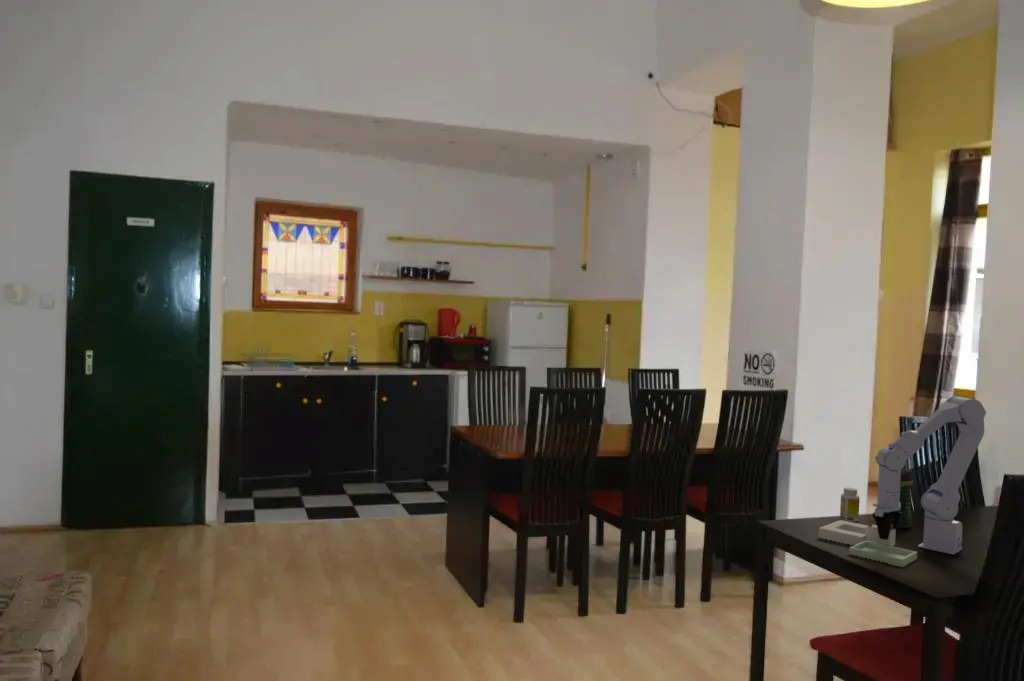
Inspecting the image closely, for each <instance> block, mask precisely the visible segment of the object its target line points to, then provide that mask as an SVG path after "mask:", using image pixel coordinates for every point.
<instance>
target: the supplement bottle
mask: <svg viewBox="0 0 1024 681" xmlns="http://www.w3.org/2000/svg"><path fill="white" fill-rule="evenodd" d="M839 513H840V514H839V518H840V517H841V518H840V520H843V521H848V522H853V523H856V522H858V521H859V518H860V517H859V516H860V515H859V514H860V496H859V495H858V488H853V487H844V488H843V493H842V494H840V510H839Z"/></svg>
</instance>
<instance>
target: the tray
mask: <svg viewBox="0 0 1024 681" xmlns="http://www.w3.org/2000/svg"><path fill="white" fill-rule="evenodd" d="M848 555H849V556H852V555H854V556H853V557H856V556H858V558H861V557H862V559H865V558H867V559H866V560H869V559H871V560H870V561H874V560H876V561H875V562H878V561H880V562H879V563H882V562H885V563H884V564H886V563H888V565H890V566H896V567H900V568H905V567H906V566H907V565H910V564H911V563H912V562H914V561H916V559H917V560H918V551H914V550H910V549H906V548H903V547H902V548H901V547H897V546H888V545H883V544H879V543H874V542H870V541H863V542H861V543H858V544H856V545H854V546H852V545H851V546H850V547H849V548H848Z"/></svg>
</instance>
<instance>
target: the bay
mask: <svg viewBox="0 0 1024 681" xmlns="http://www.w3.org/2000/svg"><path fill="white" fill-rule="evenodd" d="M865 526H868V525H867V524H862V523H856V522H848V521H844V520H842V519H839V520H836V521H833V522H832V523H831V522H830V523H828V524H825V525H823V526H820V527H818V539H821V538H822V540H825V539H827V540H826V541H830V540H832V541H831V542H834V541H836V542H835V543H839V542H840V543H839V544H843V543H844V544H845V545H847V544H849V546H852V545H856V544H858V543H861V542H863V541H867V535H866V534H865Z"/></svg>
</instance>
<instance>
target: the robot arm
mask: <svg viewBox="0 0 1024 681" xmlns="http://www.w3.org/2000/svg"><path fill="white" fill-rule="evenodd" d="M986 414H987V411H986V410H985V408H984V406H983V404H982V402H980V401H979V400H977V399H974V398H967V397H963V396H959V395H953V396H950V397H948V398H947V399H946V401H944V402H942V403H941V404H939V407H938V408H937V409H936V410H935V411H934V412H933V413H932V414H931V415H930V416H929V417H928V418H927V419H926V420H924V421H923V422H922V423H921V424H920V425H919V426H918V427H917V428H916V429H915V430H907V431H902V432H901V433H900V435H901V436H900V437H898V438H897V439H895V440H894V441H893V442H890V443H889V444H888V445H887V446H888V447H883V448H881V449H880V450H879V451H878V452H877V455H876V456H875V457H874V458H875V461H876V464H877V465H878V478H877V479H878V480H877V481H878V484H877V499H876V500H877V501H876V502H873V503H872V507H875V508H874V512H872V519H873V520H875V522H876V523H875V525H877V528H878V533H879V538H880V539H885V540H888V537H889V533H890V528H891V524H893V529H896V530H897V524H898V522H899V520H900V518H901V517H902V515H903V512H899V510H900V509H901V503H900V502H899V500H900V479H901V468H905V466H906V462H907V460H908V459H909V458H910V457H912V456H913V455H914V454H915V453H917V452H918V451H919V450H920V449H922V447H924V445H925V439H927V438H928V437H929V436H931V435H932V434H934V433H935V432H936V431H938V430H939V429H940V428H942V427H943V426H944V425H946V424H948V423H956V425H957V427H958V429H959V431H960V433H959V435H958V437H957V440H956V442H955V443H954V446H953V448H952V450H951V452H950V455H949V457H948V459H947V461H946V464H945V466H944V467H943V469H942V471H941V474H940V475H939V479H937V481H936V482H934V483H933V484H931V485H930V487H929V489H928V490H926V492H924V493H923V494H922V496H921V498H920V505H921V507H922V508H923V510H924V519H923V521H924V522H923V524H924V525H923V539H922V540H923V542H921V543H920V544H918V545H917V547H918V548H921V549H922V548H923V549H925V550H931V551H936V552H940V553H944V554H949V555H955V554H958V553H959V552H960V551H962V550H963V548H962V545H963V544H962V542H963V523H962V522H961V521H959V520H955V519H954V518H955V517H956V516H957V515H958V512H959V503H960V499H961V495H960V493H959V488H960V486H961V484H962V483H963V480H964V478H965V476H966V473H967V472H968V469H969V467H970V465H971V463H972V461H973V459H974V457H975V455H976V452H977V450H978V447H979V446H980V444H981V442H982V439H983V437H984V435H985V416H986Z"/></svg>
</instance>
